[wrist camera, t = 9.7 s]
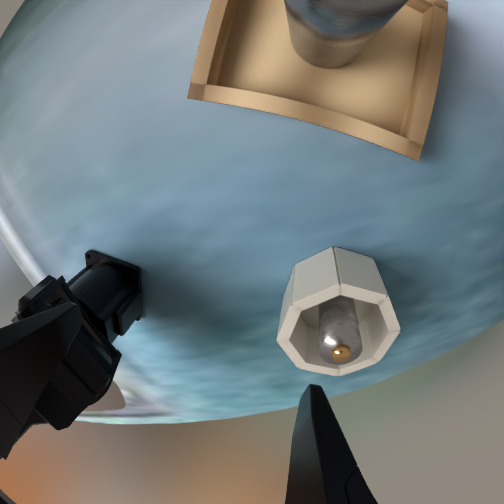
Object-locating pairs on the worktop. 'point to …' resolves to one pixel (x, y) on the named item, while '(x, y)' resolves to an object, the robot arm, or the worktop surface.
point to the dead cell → (339, 331)
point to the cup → (329, 286)
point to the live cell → (336, 28)
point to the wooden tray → (326, 72)
